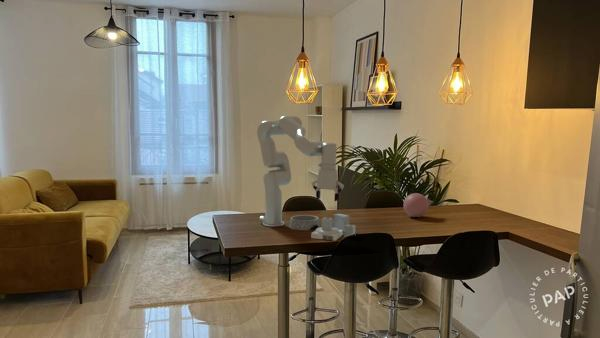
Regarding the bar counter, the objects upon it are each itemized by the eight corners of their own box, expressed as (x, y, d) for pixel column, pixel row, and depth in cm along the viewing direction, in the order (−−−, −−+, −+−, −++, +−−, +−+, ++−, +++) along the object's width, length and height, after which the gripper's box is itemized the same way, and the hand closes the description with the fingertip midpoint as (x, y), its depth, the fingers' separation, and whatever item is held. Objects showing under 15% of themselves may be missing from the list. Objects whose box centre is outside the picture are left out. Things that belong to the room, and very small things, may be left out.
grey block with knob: (321, 230, 219) (321, 218, 218) (324, 228, 223) (324, 216, 222) (329, 231, 217) (330, 219, 217) (332, 229, 221) (332, 217, 221)
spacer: (344, 237, 219) (344, 225, 218) (346, 235, 223) (347, 224, 222) (352, 238, 217) (353, 226, 216) (355, 236, 221) (355, 224, 221)
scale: (310, 238, 216) (310, 231, 216) (319, 232, 229) (319, 225, 229) (334, 241, 211) (335, 234, 211) (342, 234, 224) (343, 228, 224)
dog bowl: (282, 226, 243) (282, 217, 242) (307, 221, 254) (307, 213, 254) (302, 232, 230) (302, 222, 229) (326, 227, 241) (326, 218, 241)
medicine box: (349, 231, 232) (349, 215, 231) (344, 232, 229) (344, 216, 228) (338, 228, 238) (338, 213, 237) (333, 229, 234) (333, 214, 234)
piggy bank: (439, 219, 264) (440, 194, 263) (409, 220, 260) (410, 195, 258) (427, 214, 279) (428, 191, 277) (398, 215, 275) (399, 191, 273)
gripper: (310, 166, 217) (308, 199, 219) (342, 168, 210) (341, 202, 212) (315, 165, 223) (314, 196, 226) (346, 167, 217) (345, 200, 219)
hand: (327, 199), depth 219 cm, fingers open, 9 cm apart
